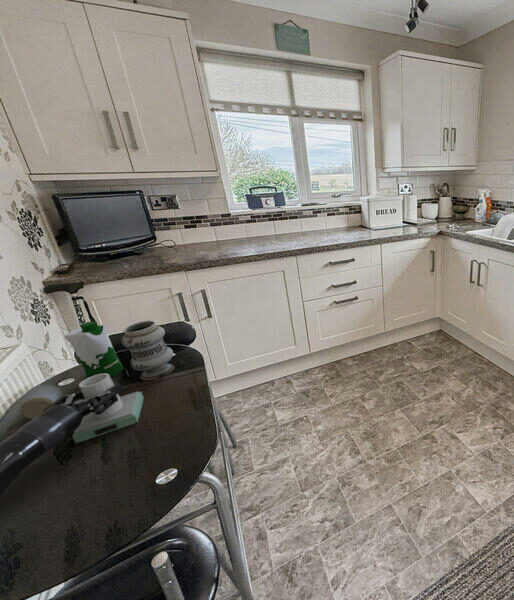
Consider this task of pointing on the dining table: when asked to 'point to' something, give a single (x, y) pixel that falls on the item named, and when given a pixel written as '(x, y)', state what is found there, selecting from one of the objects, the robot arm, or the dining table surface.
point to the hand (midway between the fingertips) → (105, 387)
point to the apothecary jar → (148, 349)
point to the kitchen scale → (110, 419)
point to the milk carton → (95, 349)
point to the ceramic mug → (39, 400)
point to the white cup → (100, 391)
